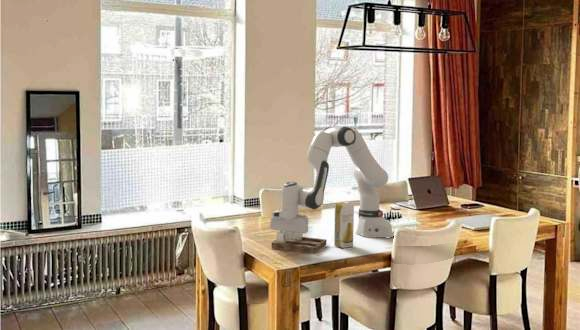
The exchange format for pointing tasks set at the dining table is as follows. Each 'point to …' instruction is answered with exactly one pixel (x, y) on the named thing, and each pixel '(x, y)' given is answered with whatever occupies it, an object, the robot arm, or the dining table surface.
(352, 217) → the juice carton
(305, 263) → the dining table surface
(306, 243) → the switch board
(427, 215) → the dining table surface
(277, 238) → the tab
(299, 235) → the tab
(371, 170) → the robot arm
